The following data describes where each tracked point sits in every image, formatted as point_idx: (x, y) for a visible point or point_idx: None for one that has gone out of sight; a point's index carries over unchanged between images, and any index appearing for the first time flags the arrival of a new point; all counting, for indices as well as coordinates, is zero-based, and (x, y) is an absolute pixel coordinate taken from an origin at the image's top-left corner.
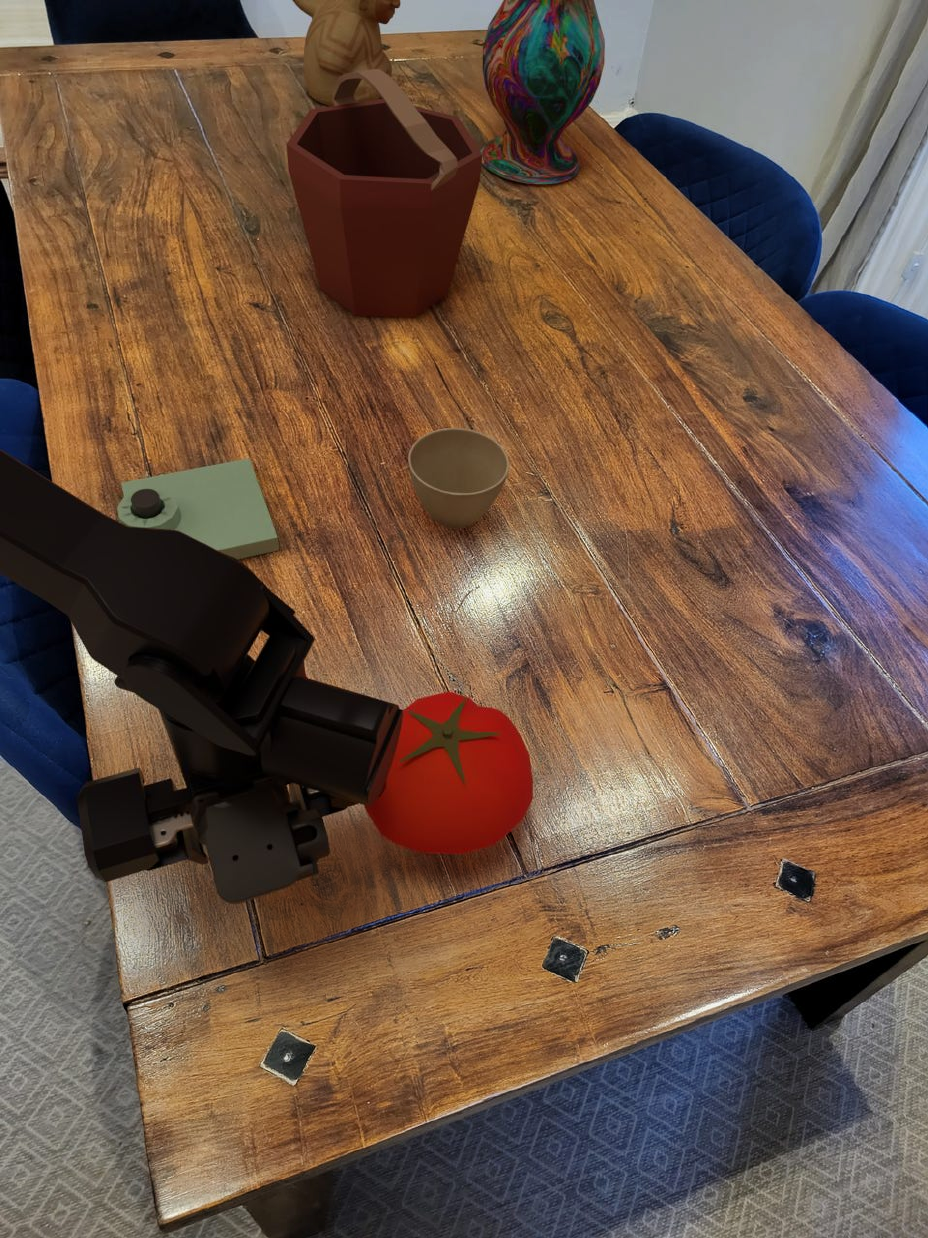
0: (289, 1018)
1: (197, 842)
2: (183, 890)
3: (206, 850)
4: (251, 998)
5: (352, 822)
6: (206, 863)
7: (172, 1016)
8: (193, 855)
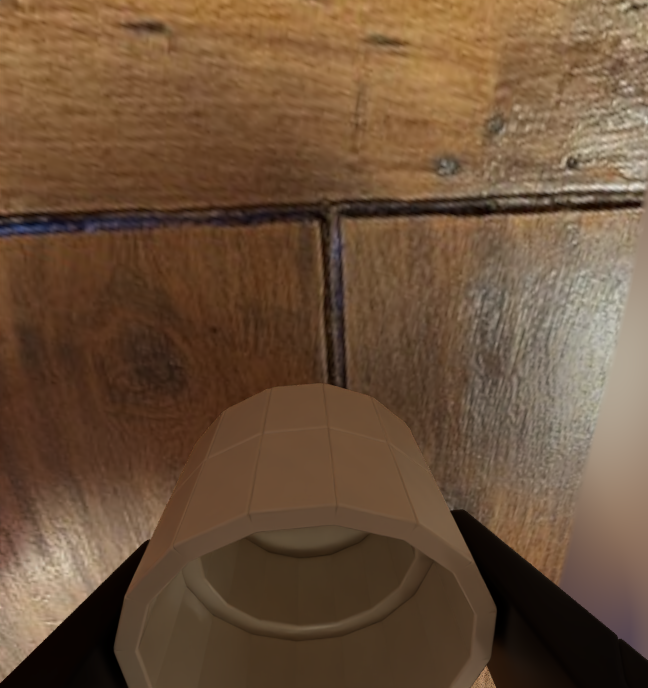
0: (284, 8)
1: (533, 677)
2: (471, 421)
3: (485, 610)
4: (378, 112)
5: (78, 485)
6: (454, 514)
7: (579, 129)
8: (574, 643)
